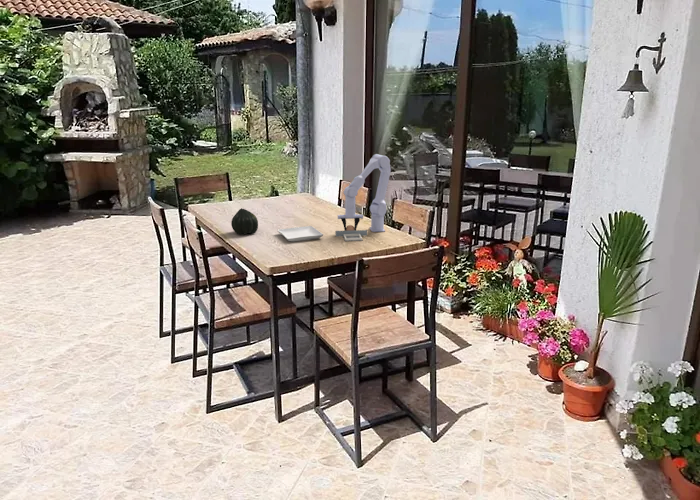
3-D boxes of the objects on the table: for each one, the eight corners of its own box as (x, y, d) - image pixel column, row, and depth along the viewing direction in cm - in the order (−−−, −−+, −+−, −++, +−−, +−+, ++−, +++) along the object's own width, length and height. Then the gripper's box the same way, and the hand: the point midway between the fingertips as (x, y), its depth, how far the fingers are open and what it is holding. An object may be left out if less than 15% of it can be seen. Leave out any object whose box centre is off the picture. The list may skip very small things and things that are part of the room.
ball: (345, 232, 311) (345, 224, 310) (353, 232, 312) (354, 224, 311) (346, 234, 307) (346, 226, 305) (355, 234, 307) (355, 226, 306)
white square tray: (342, 236, 303) (342, 233, 303) (360, 236, 304) (360, 233, 304) (344, 241, 294) (344, 238, 293) (362, 240, 295) (362, 238, 294)
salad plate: (287, 244, 289) (287, 238, 288) (276, 234, 307) (276, 228, 306) (324, 240, 297) (324, 234, 296) (311, 231, 316) (311, 225, 315)
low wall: (335, 236, 304) (335, 230, 303) (366, 235, 306) (366, 230, 305) (335, 236, 303) (335, 231, 302) (367, 235, 305) (367, 230, 304)
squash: (258, 227, 299) (256, 204, 305) (230, 229, 297) (229, 206, 303) (259, 239, 312) (257, 216, 318) (233, 241, 310) (232, 218, 316)
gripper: (362, 205, 310) (361, 228, 314) (336, 206, 308) (337, 229, 312) (363, 208, 303) (363, 231, 307) (338, 209, 301) (338, 232, 305)
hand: (350, 230), depth 309 cm, fingers open, 5 cm apart
